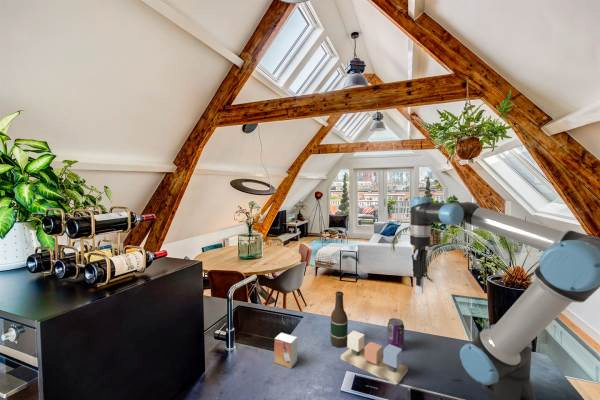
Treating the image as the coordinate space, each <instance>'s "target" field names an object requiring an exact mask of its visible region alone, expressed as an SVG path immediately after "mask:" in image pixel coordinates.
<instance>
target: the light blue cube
mask: <svg viewBox="0 0 600 400" xmlns="http://www.w3.org/2000/svg"><path fill="white" fill-rule="evenodd" d="M382 356H383V363H385V364H387V365H390V366H392V367H394V368H397V367H398V366H399V365H400V364H402V363H403V358H402V357H403V349H401V348H398V347H396V346H393V345H390V344H389V345H386V346H385V347H384V348H383V349H382Z"/></svg>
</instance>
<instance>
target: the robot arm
mask: <svg viewBox="0 0 600 400" xmlns="http://www.w3.org/2000/svg"><path fill="white" fill-rule="evenodd" d="M409 208H410V225H409V226H408V227H409V229H410V236H409V243H410V245H412V246H414V249H413V253H412V254H411V259H412V261H411V262H412V270H413V271H412V273H413V274H412V277H414V278H415V279H414V287H415V288H414V293H416V294H420V295H423V293H424V278H427V277H426V276H427V275H426V269H427V268H426V267H427V256H428V250H427V249H426V247H430V246H431V237H430V236H431V232H432V227H431V226H432V224H431V223H436V224H437V223H438V224H441V225H442V224H443V225H447V226H449V225H453V226H458V225H459V224H460V223H465V224H467V225H470V226H472V227H473V226H474V227H476V228H479V229H482V230H484V231H488V232H490V233H493V234H495V235H498V236H501V237H504V238H507V239H509V240H512V241H514V242H517V243H519V244H522V245H525V246H527V247H530V248H534V249H536V250H539V251H542V254H541V256H540V258H539V262H538V264H537V265H538V266H537V267H536V268H535V269H534V271H533V274H534V277H535V279H534V281H533V282H531V283H530V285H529V286H528V287H527V288H526V290H524V292H523V293H522V294H521V295H520V296H519V297H518V298H517V299H516V301H515V302H514V303H513V304H512V306H510V308H509V309H507V311H506V312H505V313H504V314H503V316H501V318H500V319H499V320H498V321H497V322H496V323H494V324H491V325H490V328H483V329H482V330H481V331H480V332H479V334H478V335H476V337H475V338H474V339H473V340H472V341H471V342H469V343H465V344H464V345H463V346H462V347H461V348H460V349H459V350H460V351H459V357H460V360H461V365H462V366H463V369H465V371H466V373H468V375H469V376H470V377H471V378H472V379H473V380H475V381H476V382H478V383H479V384H481V387H482V388H481V389H483V391H484V393H485V394H486V395H487V396H488V397H489V398H491V399H492V400H536V399H537V397H536V394H535V390H534V388H533V384H532V382H531V369H532V368H531V364H532V352H533V351H532V350H533V345H532V344H533V343H532V341H534V340H535V339H536V337H538V336H539V335H540V334H541V332H542V331H544V330H545V329H546V328H547V327H548V326H549V325H550V324H551V323H552V322H553V321H554V320H556V318H557V317H558V316H560V314H561V313H562V312H563V311H564V310H566V308H568V307H569V306H570V304H572V303H580V304H581V303H585V302H586V300H588V299H589V298H590V297H591V296H592V295H594V294H595V292H596V291H598V290H599V289H600V237H597V236H594V235H590V234H585V233H583V232H582V233H581V232H578V231H575V230H572V229H571V230H570V229H569V230H565V231H563V230H560V229H559V230H558V229H555V228H552V227H549V226H546V225H542V224H539V223H535V222H532V221H528V220H526V219H524V218H523V219H522V218H519V217H515V216H512V215H509V214H506V213H502V212H500V211H496V210H492V209H488V208H485V207H483V206H482V207H481V206H480V205H479V204H477V203H476V202H472V201H465V202H448V203H446V202H445V203H444V202H443V203H441V202H432V198H431V197H428V196H415V197H412V198H411V202H410V207H409Z"/></svg>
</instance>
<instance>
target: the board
mask: <svg viewBox="0 0 600 400" xmlns="http://www.w3.org/2000/svg"><path fill="white" fill-rule="evenodd" d="M364 352H365V347H363V348H362V349H361V350H360V351H359V352H357V351H355V350H353V349H350V348H348V349H347V350H346V351H345V352H343V353H342V354H341V355H340V360H341V361H344V362H346V363H348V364H350V365H352V366H355V367H356V368H358V369H361V370H363V371H365V372H367V373H369V374H371V375H373V376H376V377H377V378H379V379H382V378H383V379H382V380H384V379H386V380H388V381H390V382H392V383H395V384H399V383H400V382H401V381H402V379H403V378H404V377H405V375H406V374H407V372H408V369H409V368H408V367H409V366H407V365H404V364H402V363H400V365H399V366H398V367H397V368H394V367H392V366H390V365H387V364H385V363H383V355H382V359H381V360H380V361H379V362H378V363H377V365H376V364H374V363H372V362H369V361H367V360H365V359H364ZM386 380H385V381H386ZM388 381H387V382H388ZM390 382H389V383H390ZM392 383H391V384H392Z"/></svg>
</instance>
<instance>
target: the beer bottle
mask: <svg viewBox="0 0 600 400" xmlns="http://www.w3.org/2000/svg"><path fill="white" fill-rule="evenodd" d="M334 295H335V303H334V304H335V305H334V309H333V310H332V312H331V315H330V343H331V346H333V347H334V348H339V349H340V348H345V347H347V335H348V334H349V333H348V330H349V329H348V328H349V327H348V325H349V324H348V321H349V320H348V315H347V313H346V310H345V307H344V292H343V291H340V290H339V291H336V292H335V294H334Z"/></svg>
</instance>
